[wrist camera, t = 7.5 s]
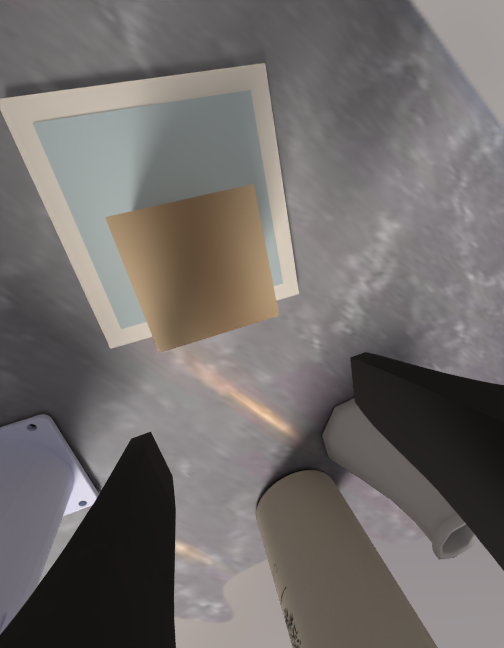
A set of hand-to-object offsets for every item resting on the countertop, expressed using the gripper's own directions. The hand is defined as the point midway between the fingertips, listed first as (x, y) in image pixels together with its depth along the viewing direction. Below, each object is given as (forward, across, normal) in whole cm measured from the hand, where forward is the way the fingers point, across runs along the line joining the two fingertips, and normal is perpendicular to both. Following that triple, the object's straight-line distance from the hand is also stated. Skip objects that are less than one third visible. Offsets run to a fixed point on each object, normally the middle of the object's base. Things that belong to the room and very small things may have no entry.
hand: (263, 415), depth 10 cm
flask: (+10, -9, +14) cm, 19 cm away
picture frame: (+10, 0, -7) cm, 12 cm away
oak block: (+9, 0, -5) cm, 10 cm away
